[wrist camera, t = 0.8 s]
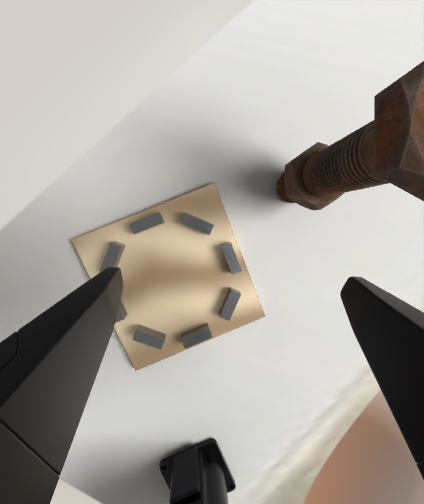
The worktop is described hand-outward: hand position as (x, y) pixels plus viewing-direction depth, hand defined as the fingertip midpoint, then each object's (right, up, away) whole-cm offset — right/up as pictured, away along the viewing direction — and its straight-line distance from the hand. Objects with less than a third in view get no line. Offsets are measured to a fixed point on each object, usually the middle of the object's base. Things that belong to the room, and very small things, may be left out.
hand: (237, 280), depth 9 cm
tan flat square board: (-5, -2, +14) cm, 15 cm away
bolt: (+7, +7, +14) cm, 17 cm away
